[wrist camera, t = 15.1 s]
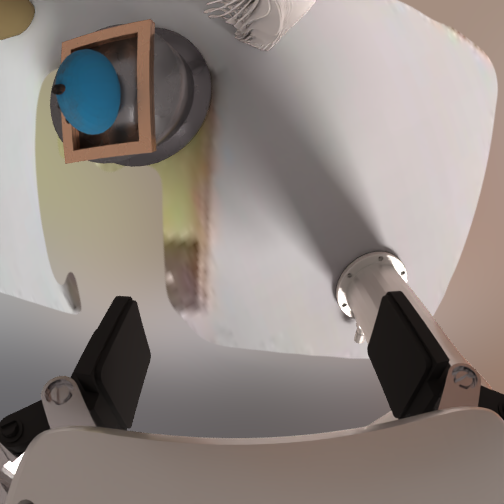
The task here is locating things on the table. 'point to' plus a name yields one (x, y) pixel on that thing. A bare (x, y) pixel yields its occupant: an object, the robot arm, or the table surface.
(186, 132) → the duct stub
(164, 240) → the table surface
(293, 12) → the shell sculpture
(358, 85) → the table surface
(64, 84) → the ornament
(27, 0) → the squeeze bottle
